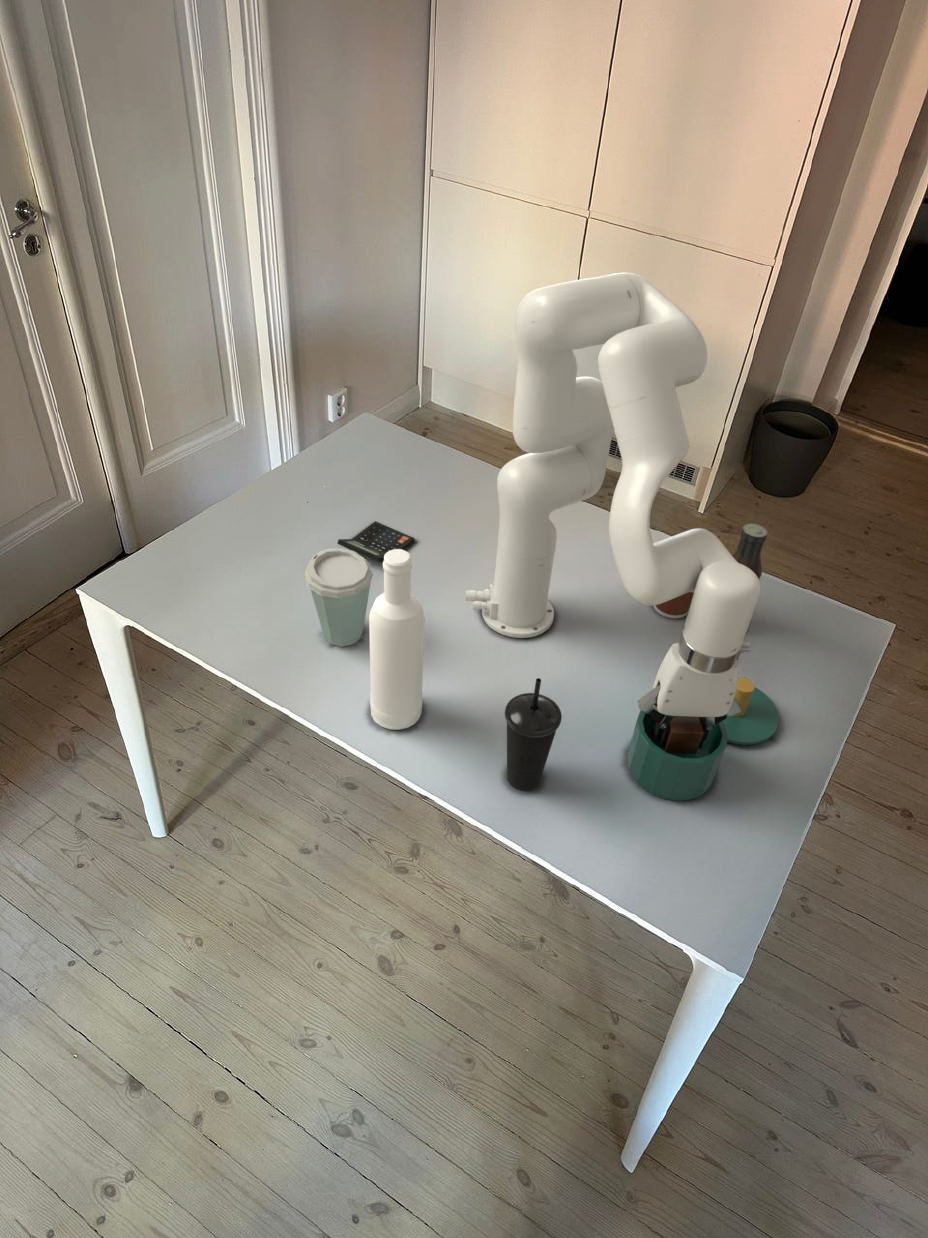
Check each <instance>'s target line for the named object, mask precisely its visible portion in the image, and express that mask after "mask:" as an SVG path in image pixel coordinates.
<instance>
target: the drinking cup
mask: <svg viewBox="0 0 928 1238" xmlns="http://www.w3.org/2000/svg"><path fill="white" fill-rule="evenodd" d="M541 684H542V679H541V677H537V678H536V679H535V685H534V691H533V692H525V693H520V694H517V695H515V696H514V697H512V698H511V699H510V700H508V702H507V704H506V706H505V708H504V718H505V722H506V779H507V782H508V783H509V785H510V786H511V787H512V788H514V789H516V790H518V791H523V792H525V791H532V790H534V789H535V788H537V787H538V786H539V784H540V782H541V779H542V776H543V773H544V770H545V767H546V763H547V760H548V757H549V754H550V751H551V748H552V744H553V742H554V738H555V735H556V733H557V730H558V729H559V727H560V725H561V723H562V718H563V717H562V711H561V708H560V706H559V705H558V704H557V703H556V702H555V701H554V700H553V699H551V698H550V697H548V696H546V695H544V694H541V693H540V690H541Z"/></svg>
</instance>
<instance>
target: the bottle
mask: <svg viewBox="0 0 928 1238" xmlns="http://www.w3.org/2000/svg"><path fill="white" fill-rule="evenodd" d="M382 569H383V592H382V593H380V595H378V596H377V597H376V598H375V600H374V602H373V604H372V606H371V608H370V611H369V614H368V624H369V625H368V627H369V629H368V631H369V671H370V672H369V677H370V678H369V679H370V680H369V681H370V682H369V684H370V695H369V705H370V717H372V719H373V721H374V722H375V723H376V724H378V726H380V727H382V728H385V729H388V730H395V731H396V730H397V731H398V730H404V729H409V728H410V727H411V726H412V727H413V726H414V725H415V724H416V723H418V721H419V720H420V717H421V715H422V708H423V683H424V682H423V680H424V653H425V629H426V628H425V624H426V617H425V611H424V608H423V606H422V603H421V602H420V600H419V598H418V597H417V596H416V595H414V594H413V593H411V591H412V587H411V585H412V569H413V561H412V555H411V554H410V553H409V552H408V551H406V549H405V550H401V549H394V550H391V551H388V552H387V553H386V554H385V556H384V561H383V562H382Z"/></svg>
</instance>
